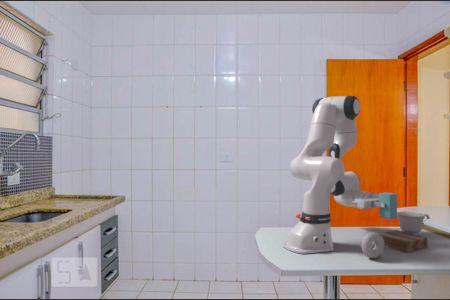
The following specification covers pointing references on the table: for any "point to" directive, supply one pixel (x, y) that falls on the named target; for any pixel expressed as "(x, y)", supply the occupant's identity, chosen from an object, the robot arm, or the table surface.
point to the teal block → (388, 205)
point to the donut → (377, 248)
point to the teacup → (411, 221)
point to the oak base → (403, 241)
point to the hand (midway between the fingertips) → (390, 204)
